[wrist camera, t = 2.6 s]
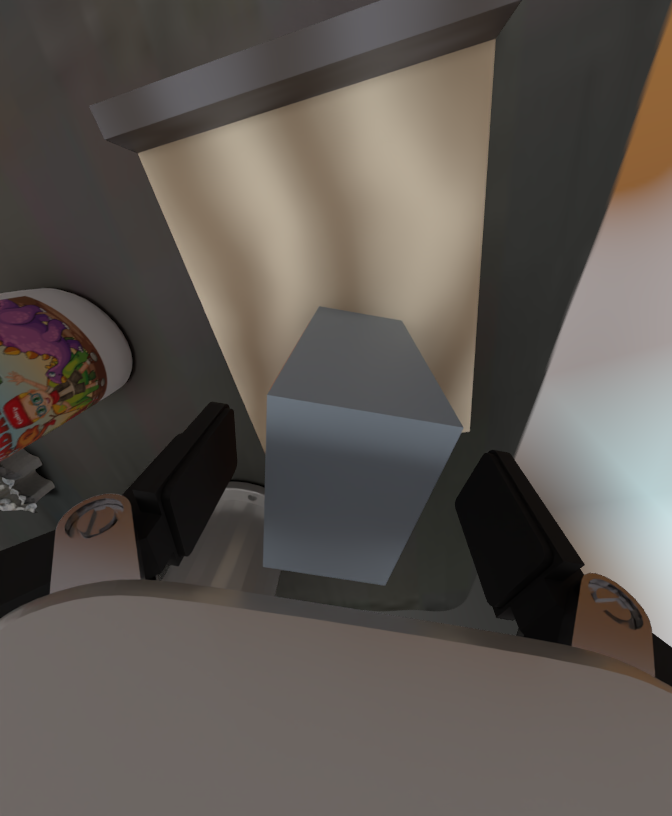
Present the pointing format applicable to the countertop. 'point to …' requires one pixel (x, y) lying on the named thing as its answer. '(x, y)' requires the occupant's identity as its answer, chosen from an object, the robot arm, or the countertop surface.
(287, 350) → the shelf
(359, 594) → the countertop surface
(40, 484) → the egg carton
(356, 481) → the carton
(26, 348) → the milk bottle
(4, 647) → the robot arm
